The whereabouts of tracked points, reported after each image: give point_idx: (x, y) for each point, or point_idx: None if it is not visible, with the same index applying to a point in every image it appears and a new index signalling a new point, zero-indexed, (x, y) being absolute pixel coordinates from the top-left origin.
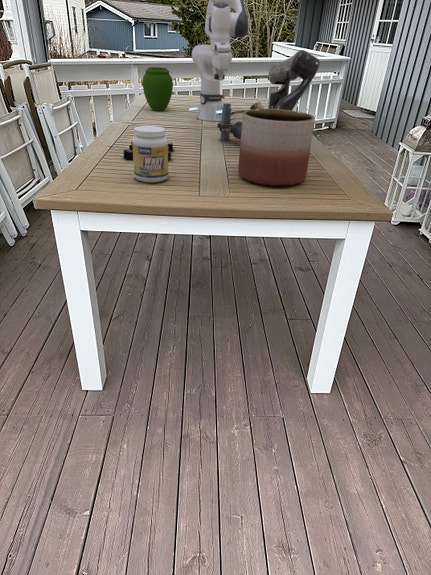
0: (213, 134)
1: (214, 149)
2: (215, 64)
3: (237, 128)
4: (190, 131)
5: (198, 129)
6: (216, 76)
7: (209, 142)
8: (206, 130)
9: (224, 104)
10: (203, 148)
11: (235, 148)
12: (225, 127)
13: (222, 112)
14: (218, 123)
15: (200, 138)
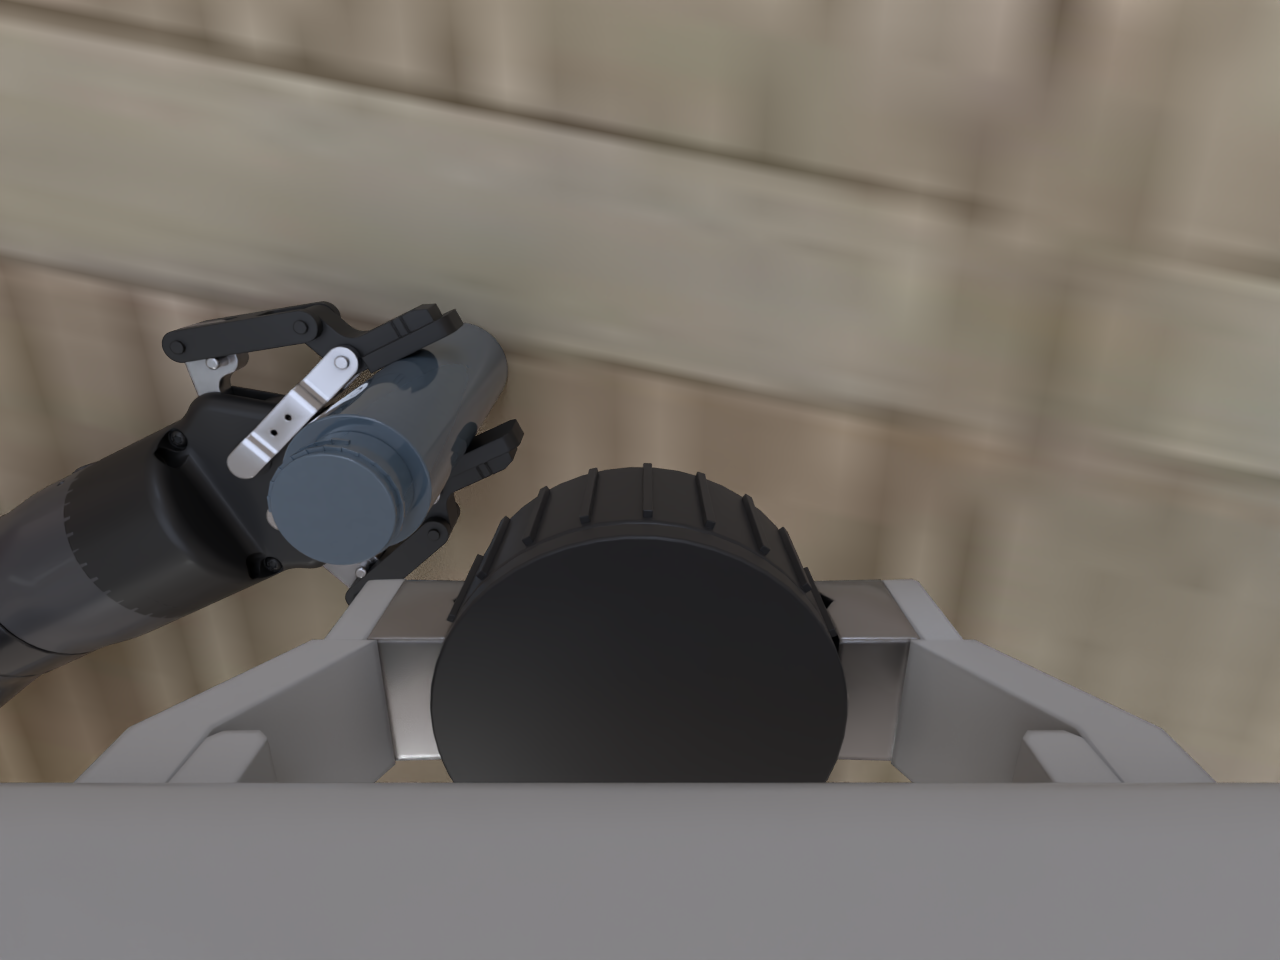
0: (721, 299)
1: (23, 168)
2: (844, 949)
3: (84, 477)
4: (897, 35)
5: (993, 167)
6: (502, 555)
7: (334, 175)
8: (926, 258)
9: (296, 457)
10: (32, 43)
11: (126, 394)
12: (171, 358)
13: (351, 397)
14: (431, 323)
15: (520, 101)
